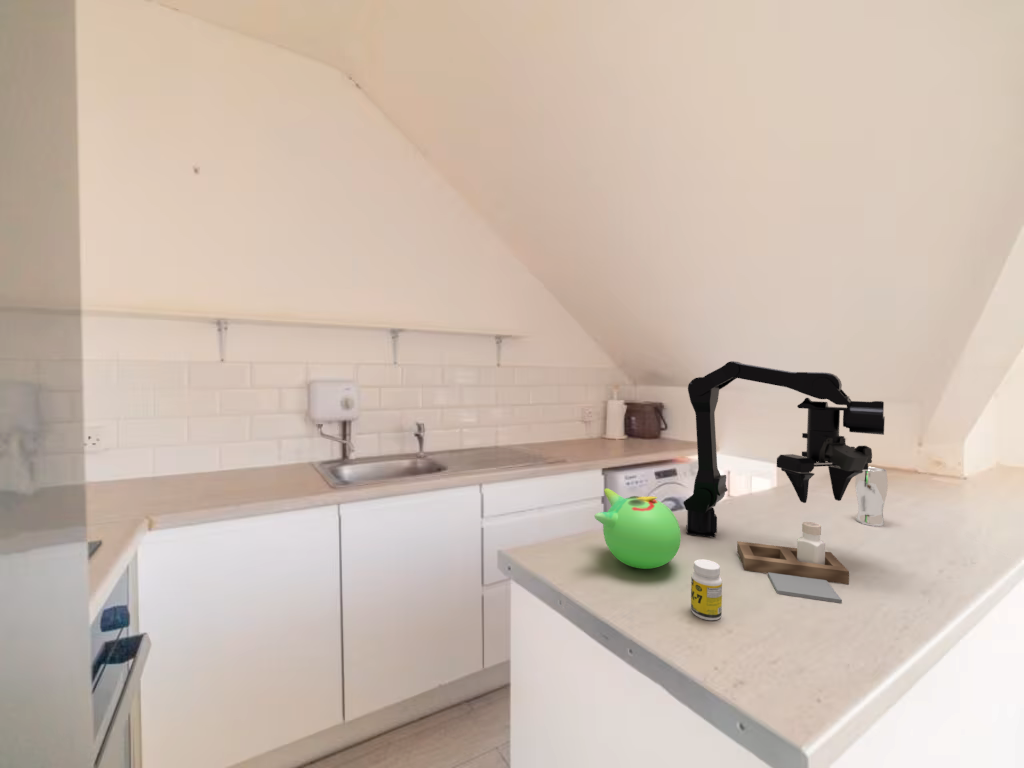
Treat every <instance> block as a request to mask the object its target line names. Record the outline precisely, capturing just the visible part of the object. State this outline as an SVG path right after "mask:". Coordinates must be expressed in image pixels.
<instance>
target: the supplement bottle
mask: <svg viewBox="0 0 1024 768" xmlns="http://www.w3.org/2000/svg"><path fill="white" fill-rule="evenodd" d="M720 575H721V566H720V564H718V562H715V561H713V560H709V559H702V558H701V559H696V560H694V562H693V572H692V574H691V582H690V583H691V584H690V586H691V589H690V610H691V612H692V614H693V615H695V616H696V617H697V618H699V619H701V620H704V621H705V620H706V621H717V620H719V619H721V617H722V612H723V611H722V610H723V608H722V607H723V580H722V578H721V576H720Z"/></svg>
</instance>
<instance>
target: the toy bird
mask: <svg viewBox="0 0 1024 768" xmlns="http://www.w3.org/2000/svg"><path fill="white" fill-rule="evenodd" d="M603 490H604V494H605V497H606V498H607V500H608V502H609V504H610V508H609V509H608V510H607V511H600V512H597V513H595V514H594V519H595V520H596V521H598V522H599V523H600V524H602V525H603V527H602V528H603V529H602V531H603V537H604V542H605V544H606V546H607V548H608V549H609V551H610V553H611V554H612V555H613V556H614V557H615V558H616V559H617V560H618V561H620V562H621V563H623V564H624V565H626V566H629V567H632V568H634V569H635V568H636V569H643V570H647V569H648V570H649V569H650V570H651V569H656V568H659V567H662V566H664V565H666V564H668V563H670V562H671V561H672V560H673V559H674V558H675V556H676V555H677V553H678V552H679V548H680V546H681V542H682V540H681V538H682V537H681V535H682V534H681V529H680V524H679V522H678V519H677V517H676V516H675V514H674V512H673V511H672V510H671V509H670V508H669V507H668V506H667V505H666V504H665V503H663V502H661V501H660V500H657V499H658V497H657V496H649V495H648V496H639V495H638V496H637V495H632V496H629V497H626V498H625V497H623V496H622V495H620V494H618V493H616V492H615V491H614V490H612V489H610V488H608V487H607V488H604V489H603Z"/></svg>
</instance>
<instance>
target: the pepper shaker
mask: <svg viewBox="0 0 1024 768" xmlns="http://www.w3.org/2000/svg"><path fill="white" fill-rule="evenodd" d="M801 525H802V527H801V528H802V529H801V531H802V536H801V537H799V538H798V539H797V541H796V542H797V544H796V546H797V547H796V548H797V560H798V561H799V562H807V563H815V564H823V565H825V552H826V542H825V541H824V540H822V539H821V535H822V526H821V525H820V524H819V523H815V522H810V521H804V522H802V524H801Z"/></svg>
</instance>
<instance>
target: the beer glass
mask: <svg viewBox="0 0 1024 768" xmlns="http://www.w3.org/2000/svg"><path fill="white" fill-rule="evenodd" d="M862 471H863V472H862V473H860V474H858V475H856V476H854V477H855V479H854V488H855V494H856V500H857V509H858V510H857V515H856V518H855V519H856V522H858V523H859V524H861V525H862V524H863V525H867V526H870V527H871V526H872V527H884V526H885V525H886V523H885V519H884V506H885V502H886V498H887V493H888V486H889V482H888V470H887V469H885V468H882V467H881V468H880V467H875V466H868V470H862Z"/></svg>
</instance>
